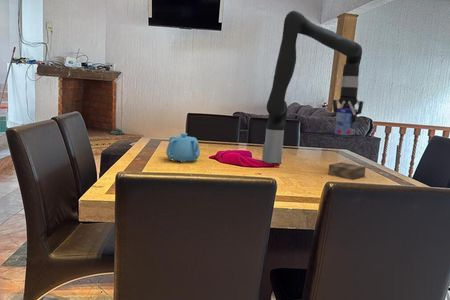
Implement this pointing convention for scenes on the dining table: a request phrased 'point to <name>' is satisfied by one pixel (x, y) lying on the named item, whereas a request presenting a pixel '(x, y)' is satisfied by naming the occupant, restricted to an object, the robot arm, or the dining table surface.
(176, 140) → the decorative pot
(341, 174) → the walnut block
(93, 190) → the dining table surface
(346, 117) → the ink cartridge box
